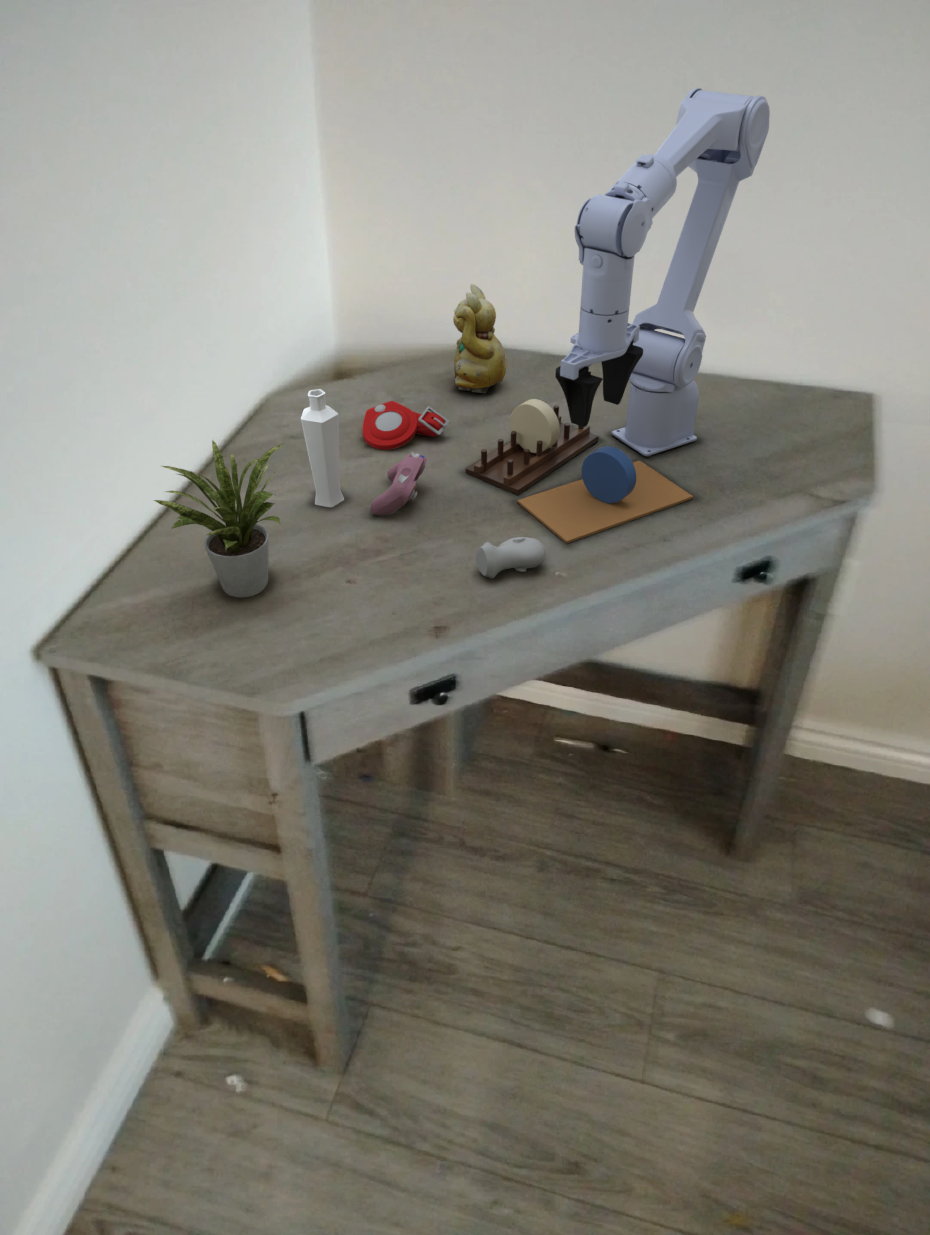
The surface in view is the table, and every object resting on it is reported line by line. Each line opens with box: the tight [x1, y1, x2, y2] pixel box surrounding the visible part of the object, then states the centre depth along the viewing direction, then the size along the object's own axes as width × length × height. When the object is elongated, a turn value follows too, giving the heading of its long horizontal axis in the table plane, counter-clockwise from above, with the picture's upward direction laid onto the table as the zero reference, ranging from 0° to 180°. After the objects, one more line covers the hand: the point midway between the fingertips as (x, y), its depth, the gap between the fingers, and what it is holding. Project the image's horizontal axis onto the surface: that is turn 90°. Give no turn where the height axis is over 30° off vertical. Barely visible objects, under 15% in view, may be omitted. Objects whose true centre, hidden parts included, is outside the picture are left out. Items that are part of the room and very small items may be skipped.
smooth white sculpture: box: [475, 536, 546, 579], centre depth 108 cm, size 4×8×5 cm
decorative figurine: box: [452, 283, 507, 394], centre depth 143 cm, size 10×8×15 cm
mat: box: [517, 460, 694, 544], centre depth 121 cm, size 20×11×1 cm, turn 120°
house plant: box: [152, 439, 285, 598], centre depth 103 cm, size 14×14×16 cm
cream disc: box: [509, 398, 560, 453], centre depth 127 cm, size 2×7×7 cm, turn 50°
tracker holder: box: [362, 400, 450, 451], centre depth 135 cm, size 12×4×10 cm
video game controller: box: [369, 450, 429, 516], centre depth 120 cm, size 10×5×7 cm, turn 168°
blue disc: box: [581, 445, 636, 503], centre depth 118 cm, size 2×7×7 cm, turn 50°
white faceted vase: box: [300, 388, 345, 508], centre depth 117 cm, size 5×4×15 cm
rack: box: [464, 404, 599, 496], centre depth 129 cm, size 19×9×4 cm, turn 140°
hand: (595, 412), depth 118 cm, fingers open, 7 cm apart
